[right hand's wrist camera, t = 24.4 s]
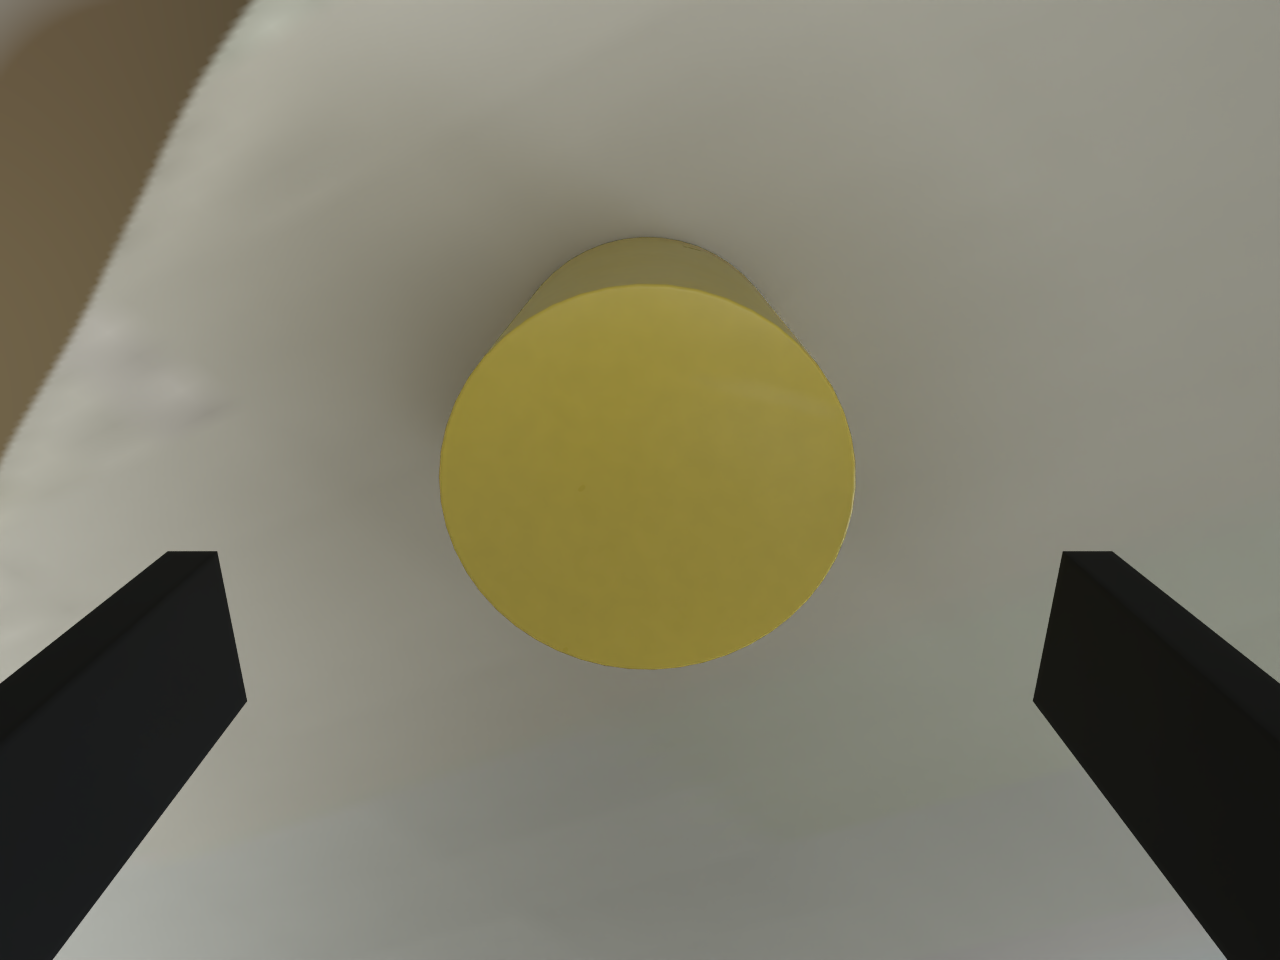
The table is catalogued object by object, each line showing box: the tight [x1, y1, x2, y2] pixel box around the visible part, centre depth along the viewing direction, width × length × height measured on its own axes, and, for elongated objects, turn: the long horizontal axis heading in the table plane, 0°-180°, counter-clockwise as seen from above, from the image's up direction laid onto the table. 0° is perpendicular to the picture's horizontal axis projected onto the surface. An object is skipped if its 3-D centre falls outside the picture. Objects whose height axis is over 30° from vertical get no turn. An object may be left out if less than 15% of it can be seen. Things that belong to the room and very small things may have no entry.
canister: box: [439, 237, 856, 669], centre depth 20 cm, size 8×8×9 cm
